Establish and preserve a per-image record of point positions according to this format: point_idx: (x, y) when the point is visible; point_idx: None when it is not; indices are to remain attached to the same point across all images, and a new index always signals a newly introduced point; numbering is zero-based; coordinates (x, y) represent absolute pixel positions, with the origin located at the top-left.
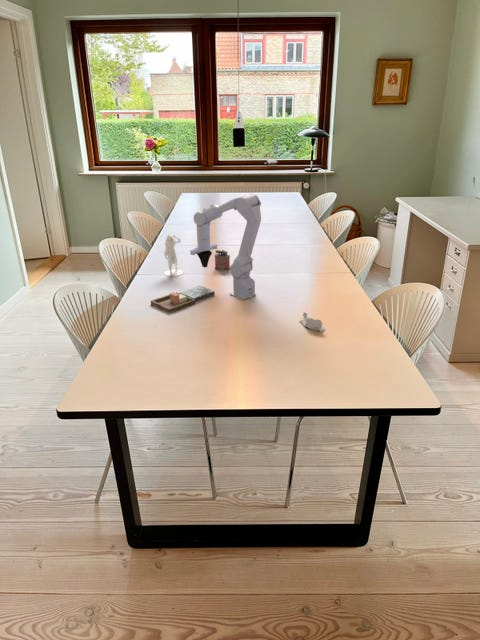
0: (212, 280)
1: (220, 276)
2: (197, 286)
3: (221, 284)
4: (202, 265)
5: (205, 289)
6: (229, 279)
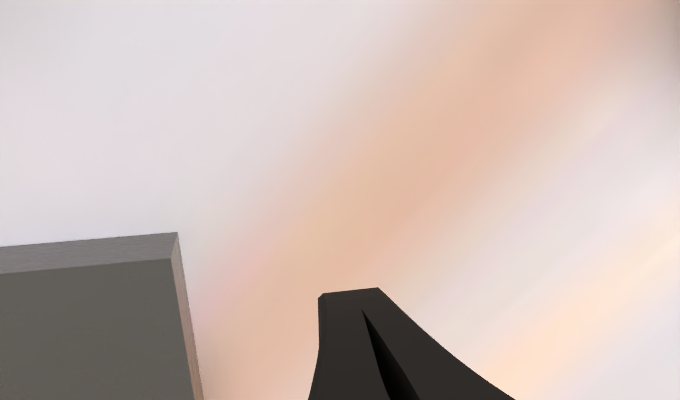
0: (480, 89)
1: (637, 47)
2: (122, 266)
3: (447, 250)
4: (319, 324)
5: (150, 384)
6: (605, 192)
